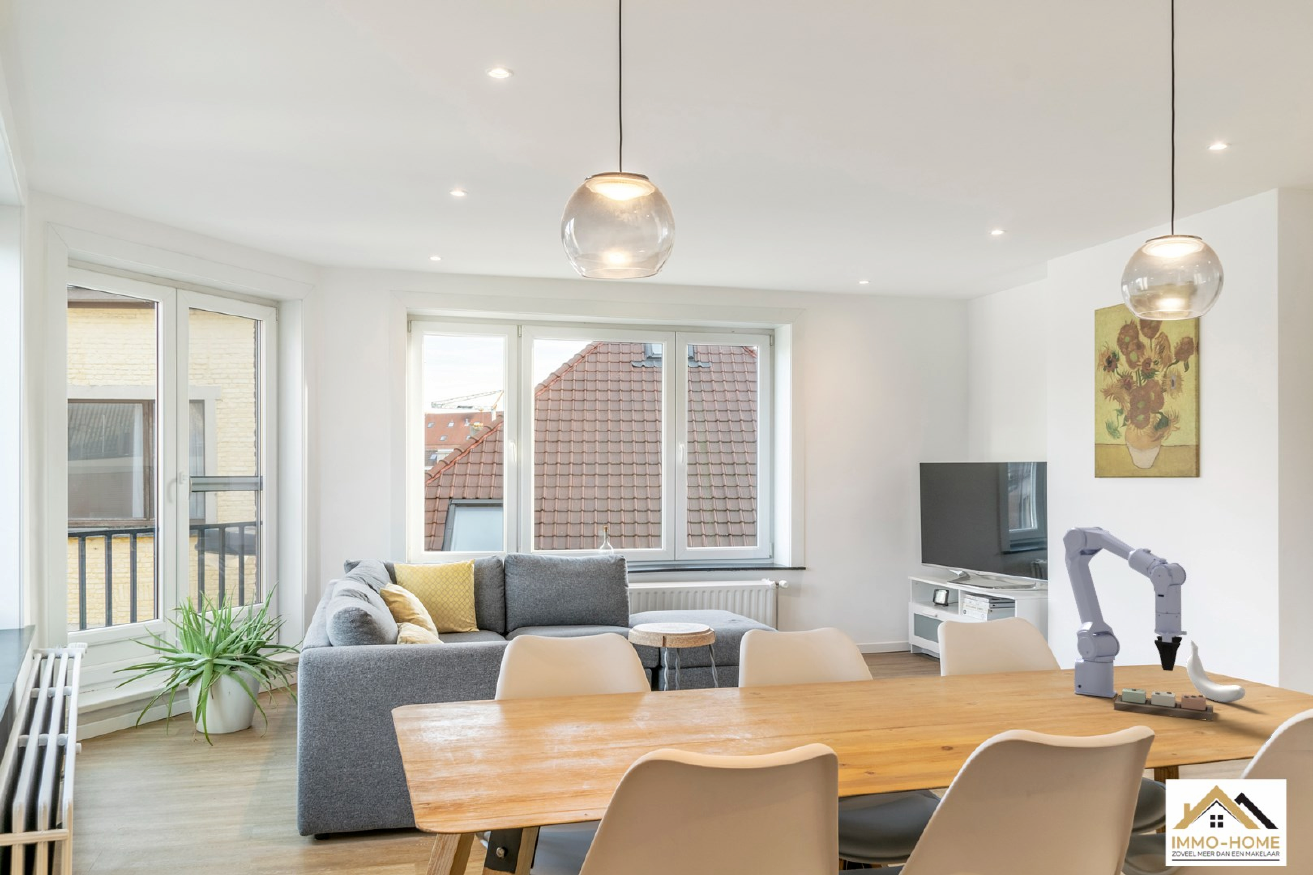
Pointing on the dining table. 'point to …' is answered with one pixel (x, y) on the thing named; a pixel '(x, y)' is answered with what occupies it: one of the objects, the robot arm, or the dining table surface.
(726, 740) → the dining table surface
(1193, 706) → the tile three
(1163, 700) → the tile two
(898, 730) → the dining table surface
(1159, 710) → the dice tray
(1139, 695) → the tile one
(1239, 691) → the banana
